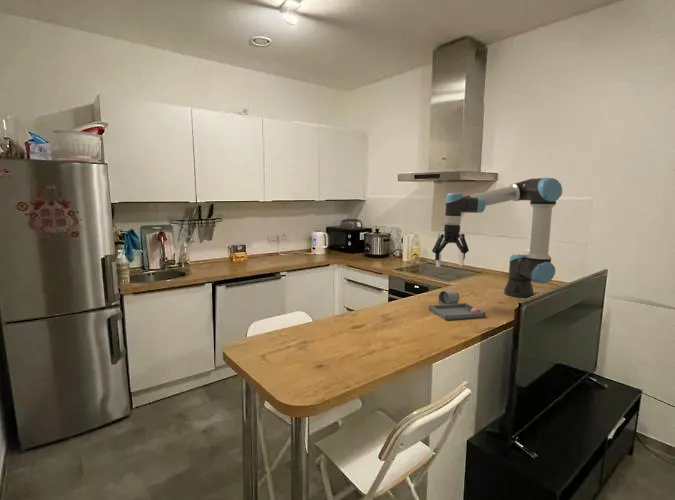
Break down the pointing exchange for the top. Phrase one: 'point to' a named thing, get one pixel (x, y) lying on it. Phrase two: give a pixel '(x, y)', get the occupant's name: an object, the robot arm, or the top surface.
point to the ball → (474, 310)
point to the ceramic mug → (448, 297)
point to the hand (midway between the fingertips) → (449, 266)
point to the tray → (455, 311)
